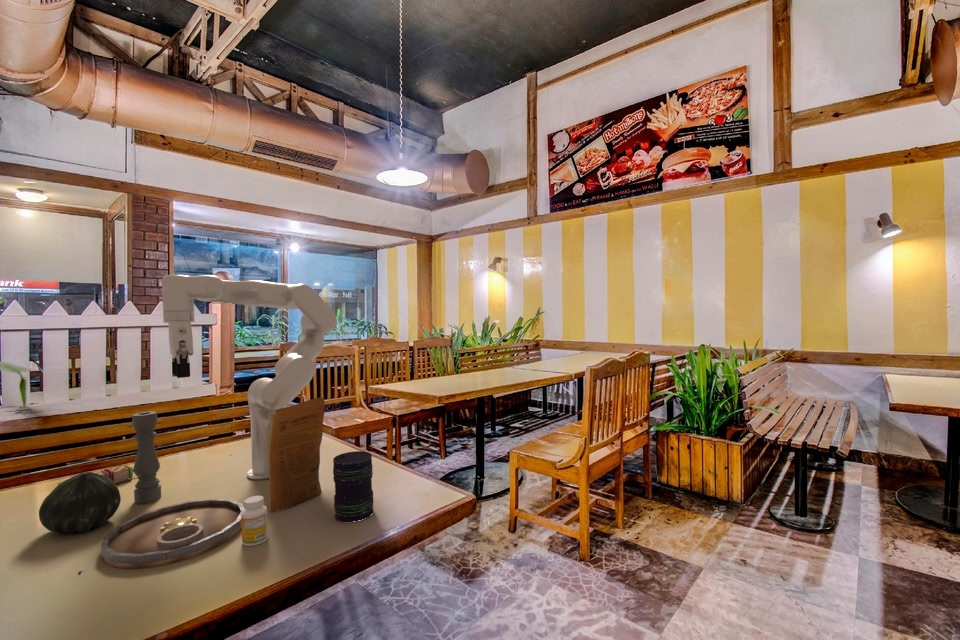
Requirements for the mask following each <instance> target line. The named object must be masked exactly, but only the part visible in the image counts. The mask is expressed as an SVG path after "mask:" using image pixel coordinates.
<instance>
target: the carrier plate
mask: <svg viewBox="0 0 960 640" xmlns="http://www.w3.org/2000/svg"><path fill="white" fill-rule="evenodd" d="M239 514H240V513H239V511H238V510H236V509H233V508H230V507H227V506H203V507H194V508H187V509H183V510H179V511H174V512H170V513H166V514H163V515H160V516H157V517H154V518H152V519H149V520H146V521H143V522H141V523H139V524H137V525H135V526H133V527H131V528H129V529H128V530H126V531H124V532H122V533H121V534H120V535H118V536H117V537H116V538H115V539H114V540H113V541H112V542H111V543H109V548H111V549H112V550H114V551H116V552H118V553H133V554H142V553H149V552H156V551H163V550H169V549H173V548H176V547H180V546H183V545H187V544H190V543H194V542H197V541H199V540H201V539H204V538H206V537H208V536H211V535H213V534H215V533H218V532H220V531H221V530H223V529H224V528H226V527H227V526H229V525H230V524H231V523H233V522H234V521H236V519H237V517H238V516H239ZM187 517H192V519H197V524H196V523H195V524H184V525H180V526H177V527H174V528H171V529H169V530H166V531H164V532H162V533H161V534H160V528H161V527H164V524H165V523H166V522H172V521H174V520H176V519H177V518H180V519H183V518H187ZM240 531H242V524H241V526H240V527H239V528H237V529H236V530H235V531H233V532H232V533H230V534H229V535H228V536H226V537H225V538H223V539H221V540H219V541H217V542H215V543H212V544H210V545H208V546H206V547H204V548H201V549H199V550H197V551H193V552H190V553H186V554H183V555H180V556H176V557H173V558H169V559H165V560H158V561H151V562H144V563H137V564H133V563H117V562H111V561H110V560H108V559H107V558H105V557H103V556H102V560H103V559H104V560H103V562H104V561H105V562H106V563H107V564H106V563H105V562H104V563H105V564H106V565H108V564H109V565H108V566H110V565H111V566H110V567H112V566H113V568H116V567H117V569H123V570H126V569H127V570H129V569H130V570H131V569H132V570H135V569H149V568H154V567H155V568H156V567H160V566H161V567H162V566H165V565H169V564H174V563H177V562H181V561H185V560H187V559H191V558H194V557H196V556H199V555H201V554H205V553H206V552H208V551H211V550H213V549H214V548H217V547H219V546H220V545H223V544H225V543H226V542H228V541H229V540H231V539H232V538H233V537H235V536H236V535H237V534H238V533H239V532H240Z"/></svg>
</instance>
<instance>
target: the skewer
mask: <svg viewBox="0 0 960 640" xmlns="http://www.w3.org/2000/svg"><path fill="white" fill-rule="evenodd" d="M133 468H134V467H132V466H130V465H126V464H125V465H119V466H114V467H110V468H104V469H103V470H100V471H96V472H95V473H97V474H100V475H103V476H106V477H108V478H109V479H111V480H112V481H113V482H114V484H115V485H116V484H118V483H122V482H124V481H127V480H130V479H133V476H134V471H133ZM62 482H63V481H62ZM62 482H58V483H57V486H58V485H59V484H60V483H62Z"/></svg>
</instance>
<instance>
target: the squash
mask: <svg viewBox="0 0 960 640" xmlns="http://www.w3.org/2000/svg"><path fill="white" fill-rule="evenodd" d="M59 483H60V484H59V485H58V484H57V486H55V487H54V488H53V489H52V491H51V492H49V494H48V495H47V496H46V497H45V498H44V499H43V501H42V503H41V505H40V507H39V510H38V518H39V521H40V523H41V525H42V526H43V527H44V528H45V529H46V530H48V531H50V532H54V533H56V534H61V533H62V534H63V533H73V532H75V531H77V532H78V533H86V532H89V530H90V529H97V528H99V527H101V526H103V525H104V524H105V523H106V522H107V521H108V520H110V519H111V518H112V517H114V515H115V513H116V512H117V510H118V509H119V507H120V504H121V502H122V501H121V500H122V499H121V498H122V497H121V493H120V490H119V488H118V486H117V485H116V483H115V484H114V482H113V481H112V480H111V479H109V478H108V477H106V476H103V475H100V474H97V473H96V472H92V471H85V472H82V473H79V474H76V475H74V476H72V477H69V478H67V479H66V480H63V481H62V483H61V482H59Z"/></svg>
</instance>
